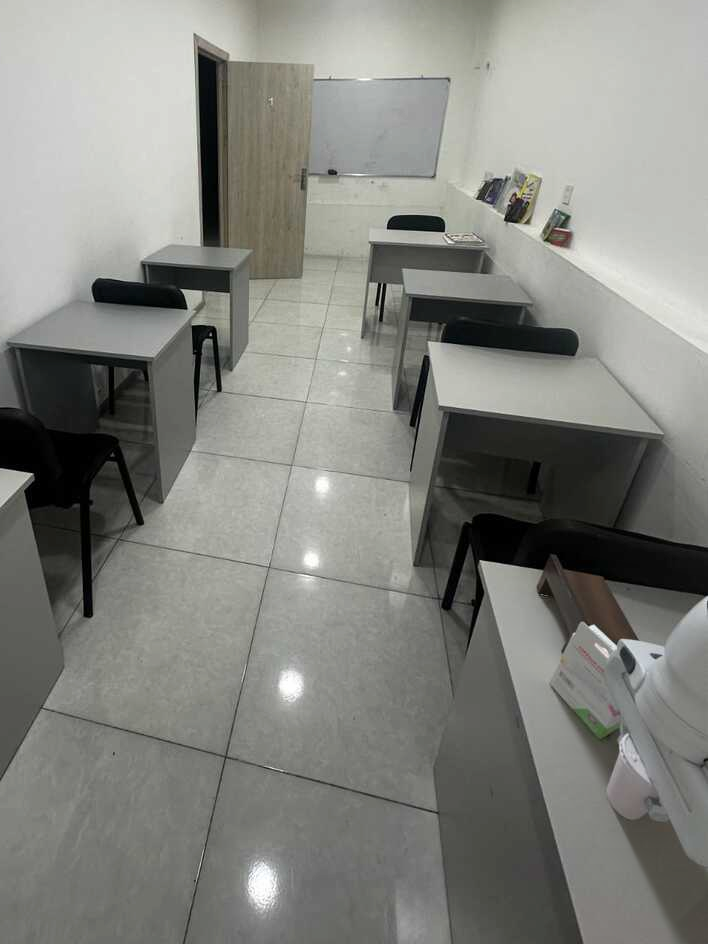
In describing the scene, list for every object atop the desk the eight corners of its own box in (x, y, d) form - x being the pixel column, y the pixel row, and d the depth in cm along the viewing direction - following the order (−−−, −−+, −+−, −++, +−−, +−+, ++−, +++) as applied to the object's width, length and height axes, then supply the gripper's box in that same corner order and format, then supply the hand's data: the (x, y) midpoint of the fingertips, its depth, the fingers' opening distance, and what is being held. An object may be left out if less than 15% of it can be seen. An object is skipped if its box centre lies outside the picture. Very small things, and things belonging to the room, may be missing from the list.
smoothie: (588, 800, 62) (630, 738, 57) (600, 760, 67) (640, 699, 61) (648, 849, 58) (699, 788, 53) (656, 803, 63) (705, 742, 57)
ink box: (621, 728, 71) (663, 664, 65) (599, 741, 69) (639, 676, 63) (568, 671, 78) (601, 608, 72) (546, 681, 76) (578, 618, 70)
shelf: (591, 599, 91) (608, 564, 87) (629, 673, 78) (652, 636, 75) (535, 588, 92) (550, 553, 89) (564, 659, 80) (583, 622, 76)
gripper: (793, 842, 45) (724, 906, 50) (664, 637, 63) (625, 700, 69) (718, 823, 46) (659, 888, 51) (613, 626, 64) (578, 690, 70)
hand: (638, 779), depth 60 cm, fingers closed on smoothie, 5 cm apart
